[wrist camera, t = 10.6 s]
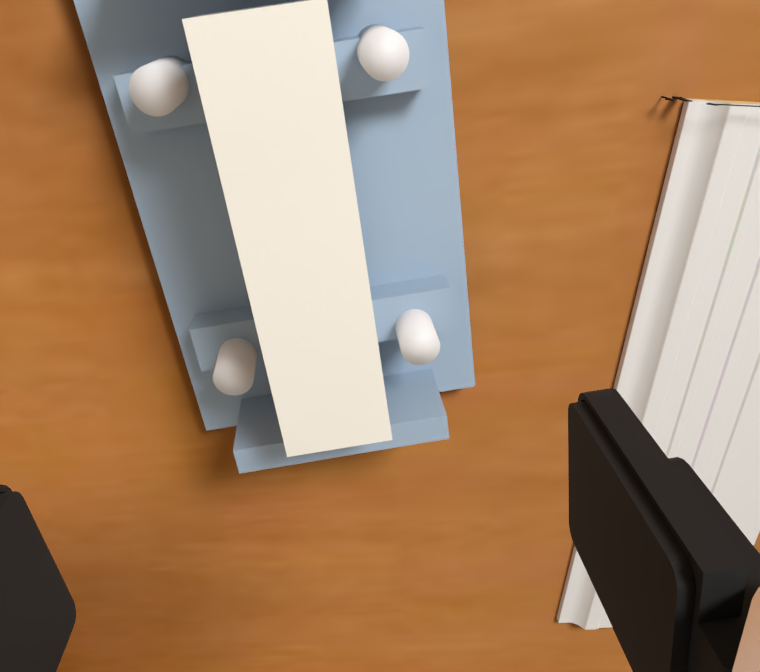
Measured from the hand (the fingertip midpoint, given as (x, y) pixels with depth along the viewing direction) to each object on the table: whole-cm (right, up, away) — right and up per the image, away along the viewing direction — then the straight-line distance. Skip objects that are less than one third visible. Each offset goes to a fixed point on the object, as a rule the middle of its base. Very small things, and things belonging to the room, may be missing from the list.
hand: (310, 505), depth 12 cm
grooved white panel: (+18, -1, +25) cm, 30 cm away
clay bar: (-2, +8, +15) cm, 17 cm away
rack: (-2, +9, +17) cm, 19 cm away
